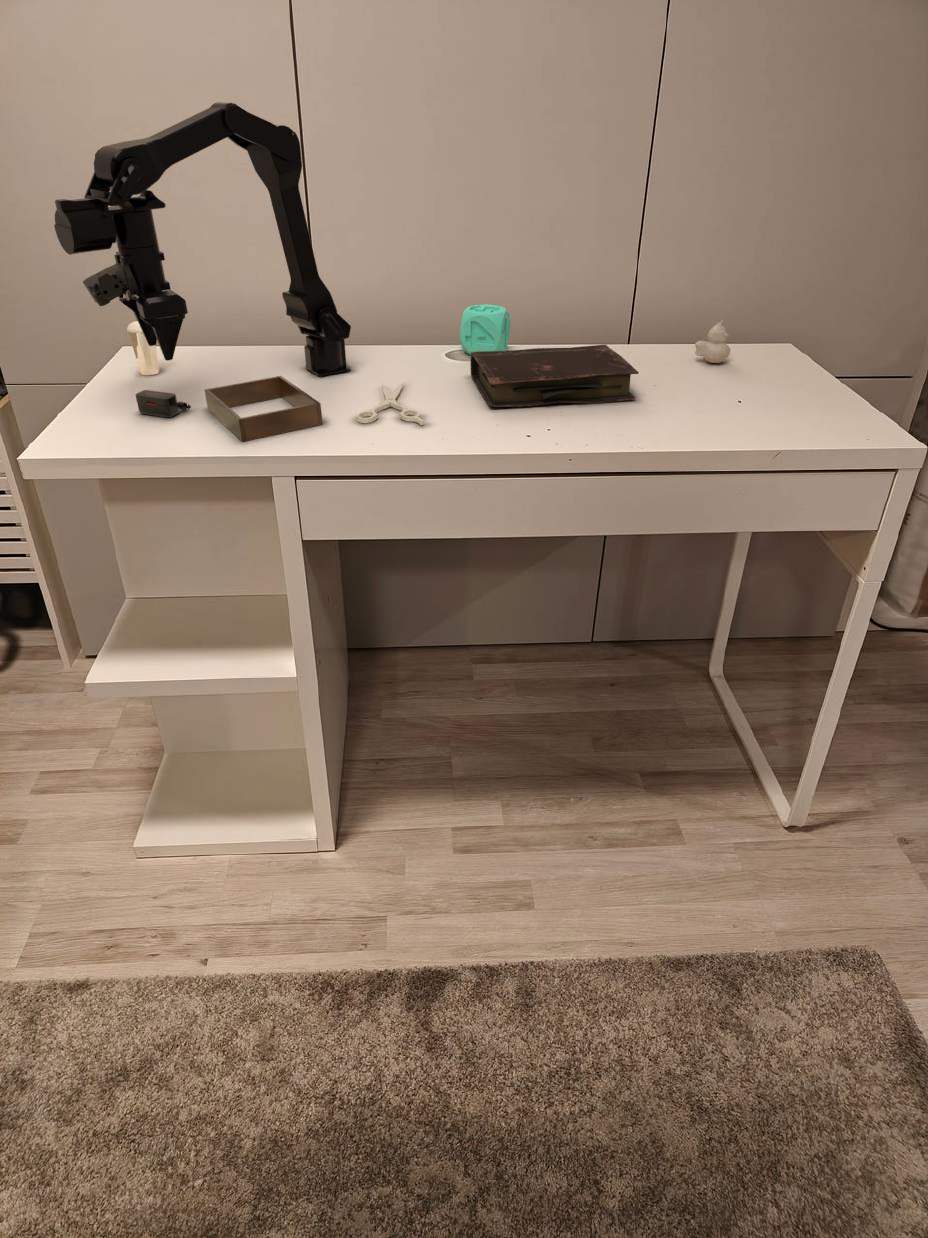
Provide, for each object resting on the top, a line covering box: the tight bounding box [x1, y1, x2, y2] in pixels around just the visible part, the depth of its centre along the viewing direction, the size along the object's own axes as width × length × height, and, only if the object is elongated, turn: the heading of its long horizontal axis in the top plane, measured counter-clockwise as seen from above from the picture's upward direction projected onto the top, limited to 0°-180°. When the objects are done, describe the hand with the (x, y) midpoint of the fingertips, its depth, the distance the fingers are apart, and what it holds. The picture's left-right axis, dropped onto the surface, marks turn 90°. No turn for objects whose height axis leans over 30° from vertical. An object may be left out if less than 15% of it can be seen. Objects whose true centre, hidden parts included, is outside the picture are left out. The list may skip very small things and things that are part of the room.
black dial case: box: [134, 389, 192, 419], centre depth 134 cm, size 5×7×3 cm, turn 70°
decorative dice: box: [459, 304, 511, 356], centre depth 160 cm, size 8×8×8 cm
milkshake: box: [126, 320, 160, 376], centre depth 149 cm, size 4×5×10 cm
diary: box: [470, 344, 639, 408], centre depth 142 cm, size 19×25×5 cm
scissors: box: [356, 382, 425, 426], centre depth 137 cm, size 11×1×20 cm
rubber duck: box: [694, 318, 731, 364], centre depth 154 cm, size 5×7×8 cm
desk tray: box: [204, 375, 324, 443], centre depth 132 cm, size 13×16×4 cm
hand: (160, 352), depth 129 cm, fingers open, 9 cm apart
